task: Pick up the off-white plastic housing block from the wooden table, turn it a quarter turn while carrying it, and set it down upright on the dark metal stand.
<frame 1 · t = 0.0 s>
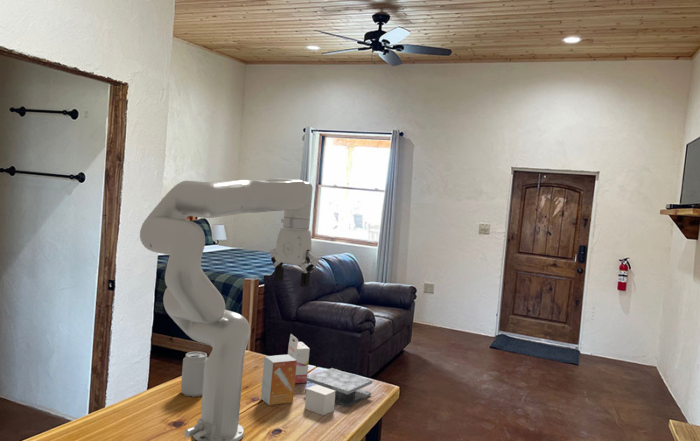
hand: (291, 283, 157), 37 cm above the table, tool pointing down, fingers open, 9 cm apart
can: (193, 393, 165), on the table
stand: (338, 394, 174), on the table
housing: (319, 409, 161), on the table
small box: (276, 401, 165), on the table
ink cartridge box: (296, 379, 185), on the table
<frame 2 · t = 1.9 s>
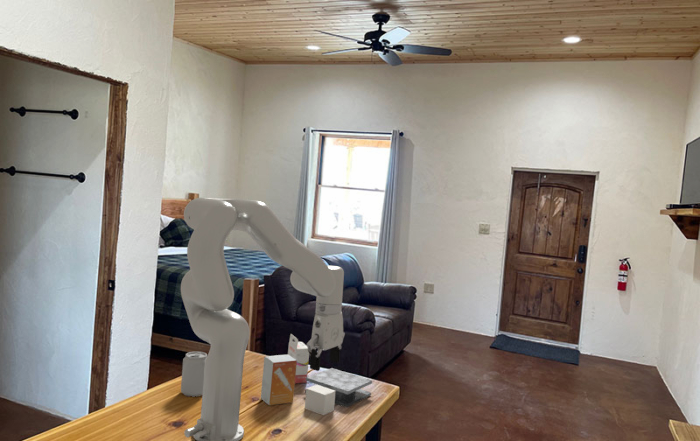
hand: (324, 365, 161), 13 cm above the table, tool pointing down, fingers open, 9 cm apart
nothing on the table moved.
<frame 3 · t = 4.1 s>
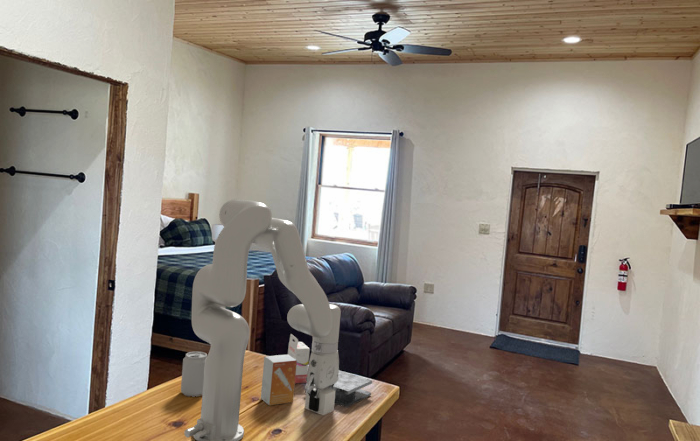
hand: (319, 406, 161), 1 cm above the table, tool pointing down, fingers closed on housing, 5 cm apart
housing: (319, 409, 161), on the table, touching gripper
everything else where it was.
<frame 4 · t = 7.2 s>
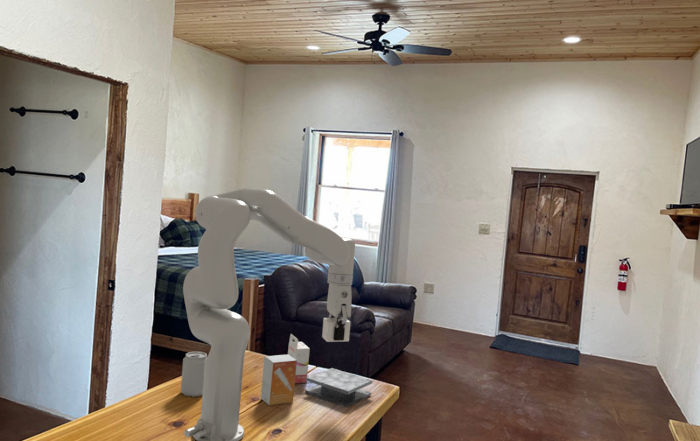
hand: (335, 336, 167), 20 cm above the table, tool pointing down, fingers closed on housing, 5 cm apart
housing: (335, 339, 167), point 19 cm above the table, touching gripper
everything else where it was.
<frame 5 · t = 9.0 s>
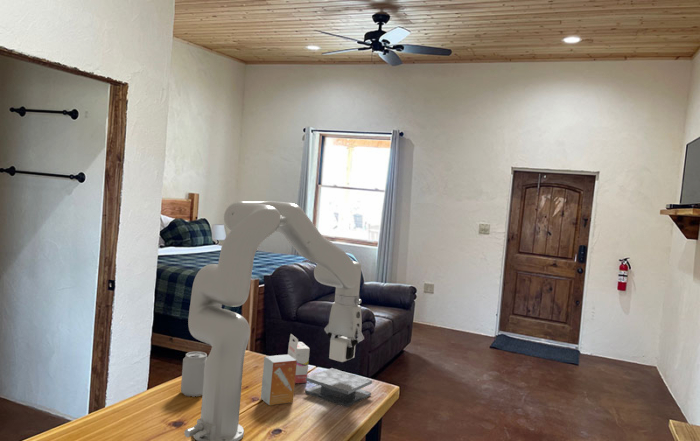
hand: (341, 355, 174), 12 cm above the table, tool pointing down, fingers closed on housing, 5 cm apart
housing: (341, 357, 174), point 12 cm above the table, touching gripper
everything else where it was.
when the fingers open (8 cm above the table, at t = 10.6 s): housing drops 2 cm, resting on stand.
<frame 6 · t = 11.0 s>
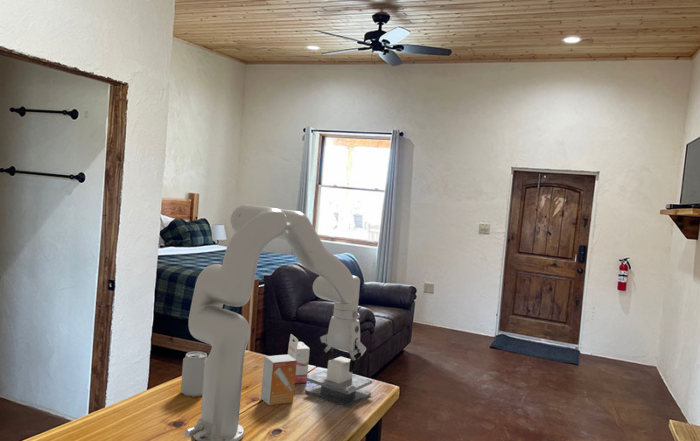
hand: (340, 367, 174), 9 cm above the table, tool pointing down, fingers open, 8 cm apart
housing: (339, 378, 174), point 5 cm above the table, touching stand
everything else where it was.
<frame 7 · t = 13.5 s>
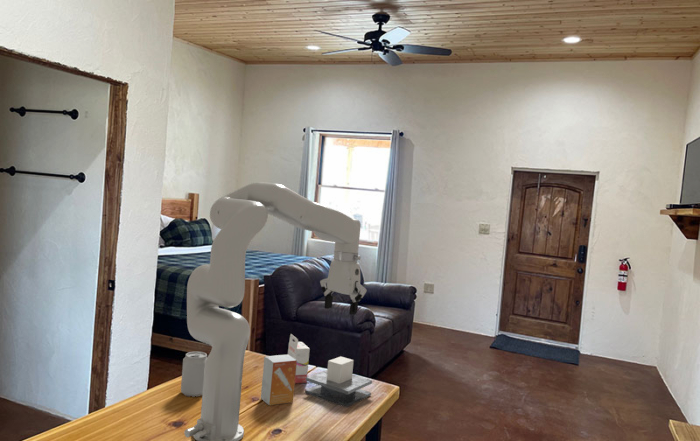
hand: (340, 311, 173), 27 cm above the table, tool pointing down, fingers open, 9 cm apart
nothing on the table moved.
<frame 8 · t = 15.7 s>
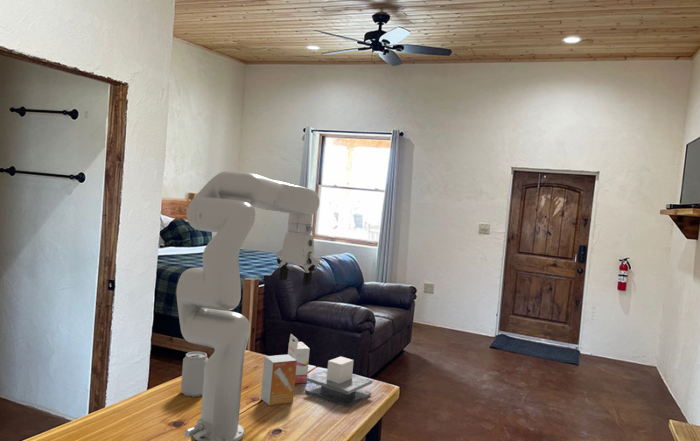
hand: (294, 282, 174), 34 cm above the table, tool pointing down, fingers open, 9 cm apart
nothing on the table moved.
at the end: housing inside the target area on the stand (0.1 cm from its centre), point 5.0 cm above the stand's base; housing tilted 0°; the gripper is holding nothing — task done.
